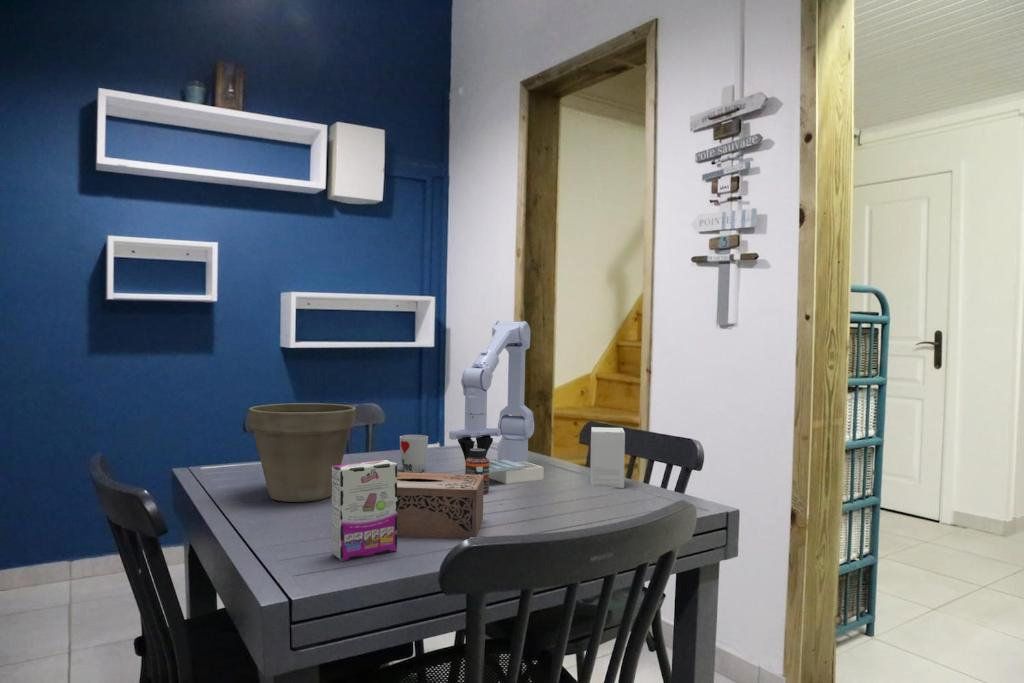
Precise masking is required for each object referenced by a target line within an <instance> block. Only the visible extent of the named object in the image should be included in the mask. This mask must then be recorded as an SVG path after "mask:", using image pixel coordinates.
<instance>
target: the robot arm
mask: <svg viewBox="0 0 1024 683" xmlns="http://www.w3.org/2000/svg"><path fill="white" fill-rule="evenodd" d="M491 335H492V338H491V340H490V341H489V343H488V344H489V345H488V347H487V348H486V349H483V350H481V351H480V352H479V354H478V356H477V357H476V359H475V361H474V362H473V363H472V365H471V367H468V368H466V369H464V370H463V372H462V374H461V378H460V380H461V381H460V382H461V386H462V394H463V396H464V397H465V398H464V400H465V401H464V429H459V430H452V431H449V432H448V434H449V435H448V436H449V437H448V439H449V440H453V441H454V440H457V442H458V444H459V446H460V448H461V451H462V454H463V458H464V462H465V464H466V459H467V458H468V457H470V454H469V453H470V449H473V448H474V447H475V443H476V448H480V449H485V450H486V456H487V455H488V452H489V450H490V448H491V445H492V444H493V442H494V438H493V437H501V438H500V440H498V444H497V460H508V461H512V462H525V461H526V462H529V461H528V460H529V459H528V458H529V457H528V455H529V450H528V449H529V439H530V438H531V437H532V436H533V435H534V432H535V420H534V412H533V411H532V410H531V409H530V408H529V407H528V406H526V405H525V385H526V384H525V381H526V380H525V379H526V351H527V350H529V349H530V348H531V347H530V346H531V327H530V325H529V323H528V322H527V321H525V320H523V321H500V320H496V321H495V322H494V324H493V326H492V328H491ZM504 349H505V350H506V351H507V353H508V371H507V372H508V373H507V375H508V376H507V406H505V407H504V408H502V409H501V410H500V411H499V418H498V422H497V428H495V427H494V428H488V427H487V420H488V419H487V418H488V417H487V410H488V408H487V406H488V390H489V389H490V388H491V386H492V385H491V384H492V380H493V377H494V374H493V373H494V371H495V370H496V368H497V366H498V364H500V363H499V362H500V358H499V356H500V354H501V353H502V352H503V350H504ZM474 438H475V440H473V439H474Z"/></svg>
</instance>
